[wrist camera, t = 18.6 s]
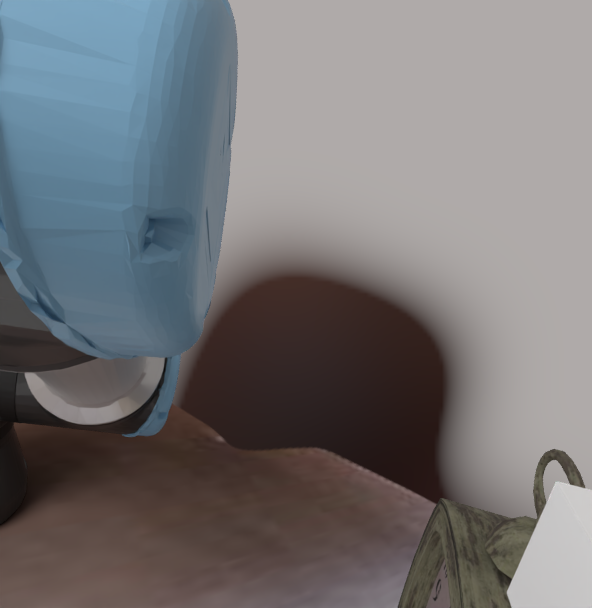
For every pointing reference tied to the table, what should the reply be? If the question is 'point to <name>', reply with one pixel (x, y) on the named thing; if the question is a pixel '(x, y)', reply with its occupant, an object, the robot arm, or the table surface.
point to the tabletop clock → (474, 550)
